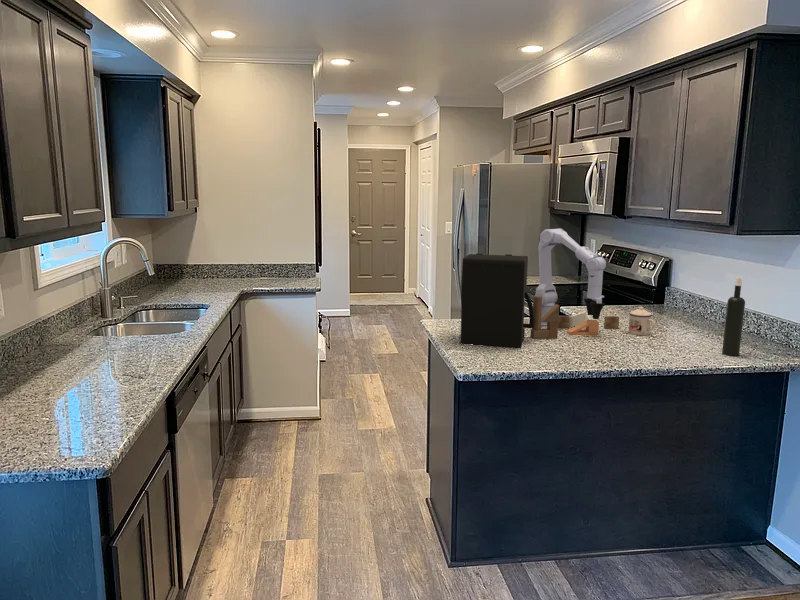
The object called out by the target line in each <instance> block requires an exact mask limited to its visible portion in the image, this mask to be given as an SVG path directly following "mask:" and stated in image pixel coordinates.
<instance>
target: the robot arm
mask: <svg viewBox="0 0 800 600" xmlns="http://www.w3.org/2000/svg"><path fill="white" fill-rule="evenodd" d="M539 235H540V236H539V239H540V240H539V243H538V249H537V250H538V271H539V285H538V286H537V287H536V288H535V295H534V296H536V295H539V296H542V315H541V318H542V317H543V316H544V315H545V314H546V313H547V312H548V311H549V310H550V309H551V308H552V307H553V306H554V305H555V304H556V302H557V301H558V293H557V291H556V286H555V285H554V284H553V275H552V274H553V273H552V270H553V269H552V267H553V266H552V249H553V248H554V247H555V246H556V245H558V244H562V245H564V246H565V247H566V248H568V249H569V250H571V251H572V252H574V253H575V258H577V259H578V260H579V261H581V262H582V263H583V264H584V265H585V266H586V269H587V274H588V278H587V294H586V298H583V301H584V303H585V306H586V314H587V315H588V316H592V320H599V319H600V316H601V312H602V310H603V308H604V306H605V303H604V302H603V298H605V295H602V291H603V279H604V277H603V276H604V270H605V269H606V267H607V261H606V259H605V258H604V257H603V256H598V255H597V253H594V252H593V251H591V250H590V247H588V246H581V245H579V243H578V242H577V241H576V240H574V239H573V238H572V237H571V236H570V235H568V233H567V231H565V230H564V229H563V228H561V227H560V228H551V229H549V228H547V229H543V231H542V232H541V233H540V234H539ZM541 326H547V322H541Z"/></svg>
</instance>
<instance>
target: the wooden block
mask: <svg viewBox="0 0 800 600" xmlns="http://www.w3.org/2000/svg"><path fill="white" fill-rule="evenodd" d="M532 305H533V311H534V328H530V334H529V335H530V338H531V339H533V340H543V339H545V338H548V339H550V338H553V339H558V331H559V328H558V319H559V316H560V314H559V313H560V305H559V304H558V303H555V304H554V306H553V307H552V308H551V309H550V310H549V311H548V312H547V313H546V314H545V315H544V316H543V317H542V318H541V315H542V296H539V295H536V296H535V295H533V301H532ZM541 322H547V325H546V328H542V325H541Z"/></svg>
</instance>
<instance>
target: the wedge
mask: <svg viewBox="0 0 800 600" xmlns="http://www.w3.org/2000/svg"><path fill="white" fill-rule="evenodd" d="M599 326H600V322H599V321H598V319H586V321H585V322H583V323H581V324H579V325H577V326H575V327H572V328H571V327H570V328H569V329H566V330H567V331H566V332H567V333H566V334H567V335H569V336H570V335H596V336H595V337H598V336H599V328H600V327H599ZM597 335H598V336H597Z"/></svg>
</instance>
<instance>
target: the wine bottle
mask: <svg viewBox="0 0 800 600" xmlns="http://www.w3.org/2000/svg"><path fill="white" fill-rule="evenodd" d="M742 283H743V276H740V275H738V276H736V277H735V281H734V293H733V296H731V297H729V298H728V299H727V304H726V312H725V313H726V314H725V323H724V330H723V331H724V332H723V341H722V348H721V349H722V351H721V354H722V355H724V356H727V357H739V356H740V352H741V342H742V332H743V325H744V315H745V307H746V300H745V299H744V298H743V297H741V290H742Z"/></svg>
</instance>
